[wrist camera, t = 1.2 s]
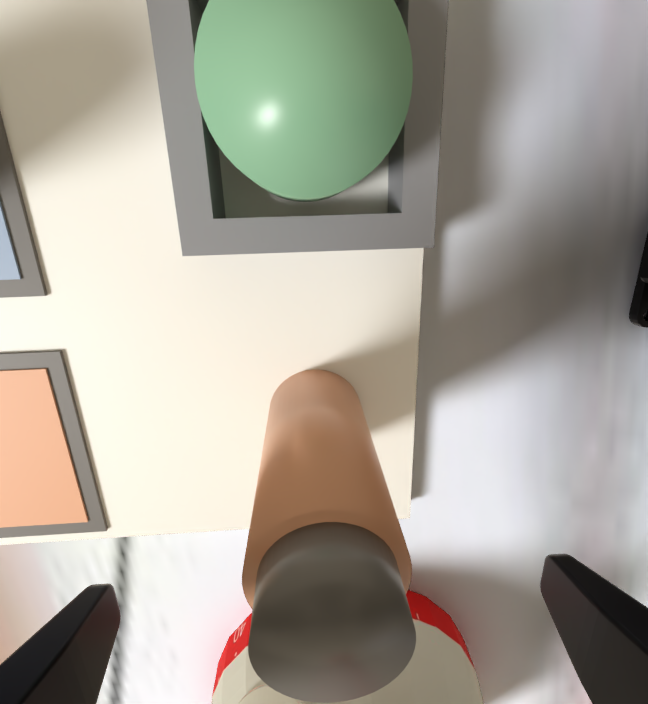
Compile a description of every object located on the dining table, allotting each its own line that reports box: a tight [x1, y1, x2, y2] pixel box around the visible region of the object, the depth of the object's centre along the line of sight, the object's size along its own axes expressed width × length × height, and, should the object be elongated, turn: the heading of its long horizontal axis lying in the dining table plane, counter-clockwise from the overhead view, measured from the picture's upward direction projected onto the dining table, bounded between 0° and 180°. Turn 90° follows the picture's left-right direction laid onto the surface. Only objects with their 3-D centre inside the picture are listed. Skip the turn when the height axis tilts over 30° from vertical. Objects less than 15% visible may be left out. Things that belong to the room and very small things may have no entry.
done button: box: [194, 0, 413, 202], centre depth 10 cm, size 5×5×3 cm
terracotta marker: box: [242, 369, 416, 703], centre depth 11 cm, size 4×4×9 cm
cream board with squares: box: [0, 0, 448, 545], centre depth 13 cm, size 22×19×3 cm
